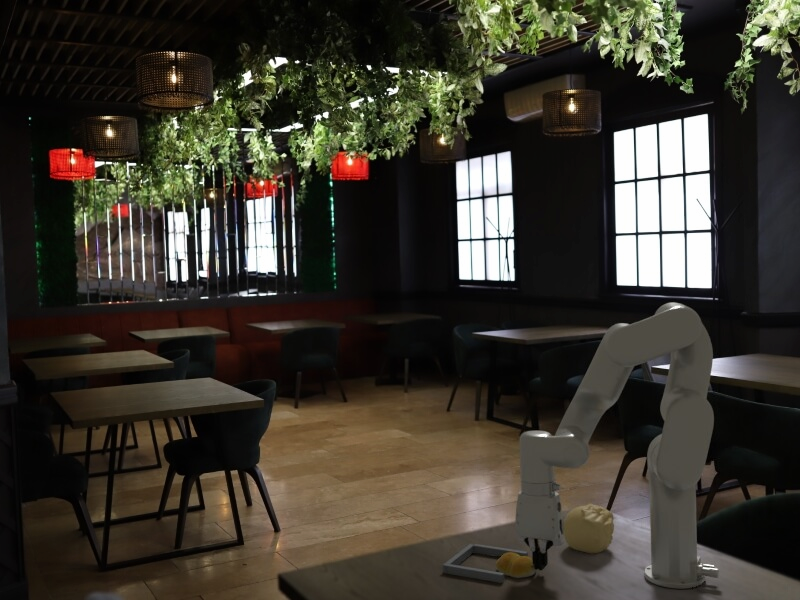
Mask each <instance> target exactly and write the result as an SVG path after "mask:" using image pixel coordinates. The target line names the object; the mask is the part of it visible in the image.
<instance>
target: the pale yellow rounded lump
mask: <svg viewBox="0 0 800 600" xmlns="http://www.w3.org/2000/svg"><path fill="white" fill-rule="evenodd" d="M614 519H615V518H614V514H613V512H612V511H610V510H608V509H607V508H605V507H603V506H600V505H597V504H592V503H588V504H586V505H580V506H577V507H575V508H572V509H571V510H570V511H569V512H568V513H567V515H566V516H565V518H564V533H563V534H562V535H563V537H564V540H565V542H566V544H567V545H568V547H569V548H571V549H573V550H576V551H579V552H583V553H586V554H599V553H601V552H603V551H605V550H607V549H608V548H609V547H610V545H611V544H612V541H613V540H614V537H613V533H614V531H615V524H614Z"/></svg>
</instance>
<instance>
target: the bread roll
mask: <svg viewBox="0 0 800 600" xmlns="http://www.w3.org/2000/svg"><path fill="white" fill-rule="evenodd" d="M495 569H496V570H497V572H500V573H504V576H508V577H509V576H510V577H511V578H515V579H523V578H528V577H531V576H533V575H535V573H536V572H537V570H535V569H534V564H533V560H532V557H530V556H528V557H527V556H520V555H518V554H516V553H513V552H508V553H505V554H503V555H502V556H501V557H499V558H498V559H496V561H495Z"/></svg>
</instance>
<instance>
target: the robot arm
mask: <svg viewBox="0 0 800 600" xmlns="http://www.w3.org/2000/svg"><path fill="white" fill-rule="evenodd" d="M709 335H710V334H709V333H708V331H707V329H706V327H705V325H704V324H703V322H702V319H701V317H700V316H699V314H698V313H697V311H695V310H694V309H693V308H691V307H689V306H687V305H685V304H683V303H680V302H679V303H678V302H674V301H673V302H667V303H665V304H663V305H661V306H660V307H659V308H657V310H656V311H655V313H654V315H652V316H649V317H647V318H644V319H642V320H639V321H635V322H633V323H631V324H629V323H623V322H621V323H620V322H618V323H615V324H614V325H611V326H610V327H609V328H608V329H607V331H606V332H605V334H604V335H603V337H602V340H601V341H600V343H599V345H598V347H597V348H596V349H597V350H596V352H595V354H594V356H593V358H592V360H591V362H590V364H589V366H588V368H587V371H586V373H585V375H584V377H583V378H582V380H581V382H580V383H579V385H578V387H577V390H576V392H575V394H574V395H573V398H572V400H571V402H570V403H569V406H568V407H567V409H566V410H565V413H564V415H563V417H562V419H561V422H560V424H559V425H558V428H557V430H556V432H555V435H552V434H551V433H550V432H548V431H545V430H527V431H524V432H522V433H521V434H520V436H519V466H520V490H519V491H518V495H517V499H516V505H515V507H516V508H515V533H516V534H515V538H516V539H517V540H518V541H521V542H524V543H525V544H526V545H527V546H528V548H529V550H530V551H531V553H532V554H531V555H532V557H531V558H532V560H533V564H534V569H535V570H536V571H537V570H538V571H543V570H544V569H545V568H546V566H548V564H549V563H548V561H549V560H548V550H549V549H551V548H552V547H559V546H562V545H563V544H564V539H563V535H564V534H563V533H564V521H565V519H564V514H563V513H564V512H563V507H562V501H561V497H560V494H559V491H561V490H562V484H560V483H559V484H558V483H557V481H556V480H557V479H556V477H555V476H556V475H555V474H556V473H555V467H558V468H563V469H578V468H581V467H583V466H584V465H586V464H587V463H588V462H589V459H590V457H591V456H590V455H591V450H590V449H591V448H590V445H589V442H590V440H591V437H592V435H593V433H594V432H595V429H596V427H597V425H598V423H599V422H600V420H601V418H602V416H603V415H604V414H605V413H606V411H607V410H609V409H610V408H611V407H612V406H614V405H615V404H616V402H617V401H618V400H619V398H620V396H621V394H622V393H623V392H622V391H623V390H624V388H625V385H626V383H627V381H628V379H629V377H630V375H631V373H632V371H633V369H634V368H635V366H638V365H641V364H644V363H647V362H651V361H653V360H656V359H659V358H661V357H664V356H667V355H669V354H670V361H669V367H668V368H669V369H668V374H667V376H666V377H667V378H666V383H665V387H664V391H663V394H662V395H663V396H662V398H661V401H660V405H659V406H660V409H659V410H660V415H661V417H662V419H663V422H664V423H663V427H662V431H661V432H662V433H660V434H659V435H657V436H656V437H654V439H653V440H651V442H650V443H649V446H648V448H647V455H646V461H647V471H648V473H647V474H648V484H649V487H648V488H649V515H650V516H649V519H650V520H649V523H650V526H649V527H650V556H651V557H650V558H651V559H650V560H651V564H650V565H647V566H646V567H645V568H644V570H643V571H644V573H643V575H644V578H645V579H646V580H647V581H648V582H649V583H652V584H654V585H657V586H661V587H664V588H670V589H677V590H678V589H681V590H682V589H683V590H685V589H692V587H693V588H696V586H697V587H699V586H698V585H700V584H701V585H703V584H704V583H705V582H706V577H709V578H712V579H719V577H720V576H719V575H720V571H719V568H716V567H715V564H707V563H704V562H703V561H702V562H701V558H702V557H701V556H700V555H698V546H697V545H698V540H697V537H698V536H697V495H696V494H697V493H696V484H697V483H698V482H699V481H700V479H701V477H702V475H703V473H704V470H705V465H706V461H707V458H708V453H709V449H710V443H711V439H712V435H713V431H714V423H715V416H714V410H713V407H712V405H711V403H710V402H709V400H708V399H707V397H708V391H709V385H710V382H711V381H710V380H711V376H712V375H711V374H712V368H713V359H714V352H713V345H712V342H711V337H710V336H709ZM557 491H558V492H557ZM539 540H540V542H539ZM704 581H705V582H704ZM703 582H704V583H703ZM702 583H703V584H702ZM701 585H700V586H701Z"/></svg>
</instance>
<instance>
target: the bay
mask: <svg viewBox="0 0 800 600" xmlns="http://www.w3.org/2000/svg"><path fill="white" fill-rule="evenodd" d="M473 552H475V553H473ZM508 552H513V553H516V554H518V555H520V556H527V557H529V556H528V551H524V550H517V549H511V548H505V547H498V546H493V545H485V544H479V543H478V544H477V543H469V544H467V545H466V547H464V548H462V549H461V550H460V551H459V552H458V553H456V554H455V555H454V556H453V557H451V558H450V559H448V560H447V561H445V563H443V564H442V574H447V575H454V576H459V577H464V578H471V579H477V580H483V581H487V582H488V581H489V582H494V583H499V584H503V583H504V582H505V575H504V573H500V572H499V571H493V570H487V569H481V568H475V567H469V566H465V565H464V566H463V565H460V564H462V563H463V562H464V561H466V560H467V559H466V558H467V557H468V558H469V557H470V556H472V555H473V554H478V553H480V554H479V555H485V554H487V555H486V556H491V555H494V557H497V556H502V555H503V554H505V553H508ZM472 553H473V554H472ZM471 554H472V555H471ZM462 561H463V562H462ZM461 562H462V563H461Z"/></svg>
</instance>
